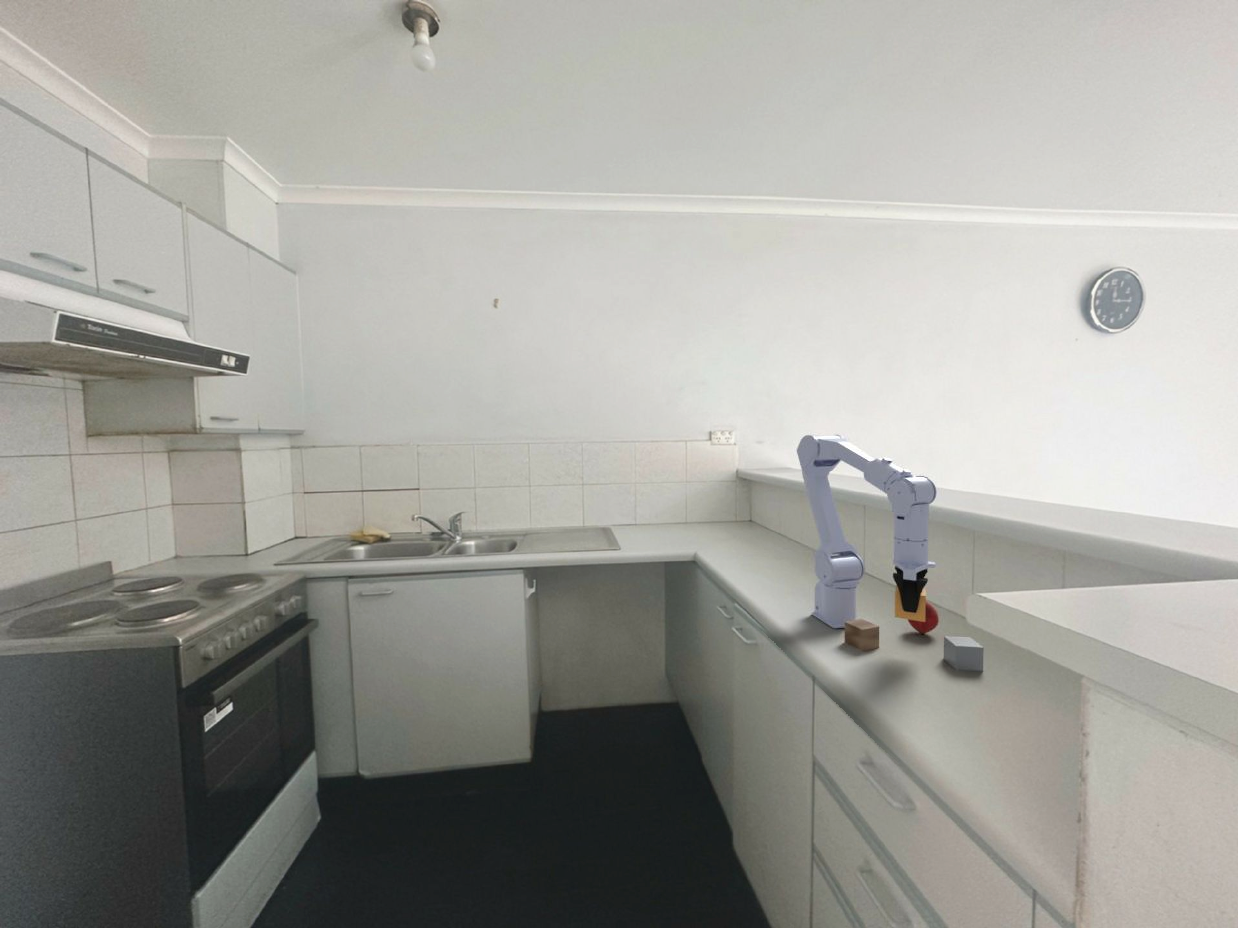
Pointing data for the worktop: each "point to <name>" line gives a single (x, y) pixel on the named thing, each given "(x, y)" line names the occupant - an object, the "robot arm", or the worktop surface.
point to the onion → (926, 620)
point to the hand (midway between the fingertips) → (910, 607)
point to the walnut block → (862, 634)
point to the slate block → (963, 653)
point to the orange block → (909, 615)
